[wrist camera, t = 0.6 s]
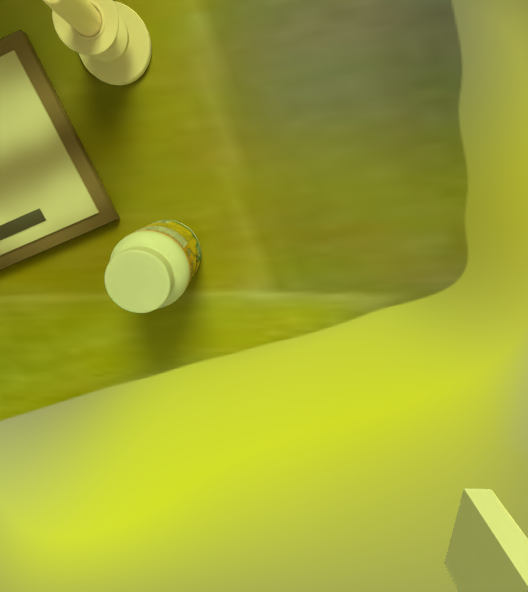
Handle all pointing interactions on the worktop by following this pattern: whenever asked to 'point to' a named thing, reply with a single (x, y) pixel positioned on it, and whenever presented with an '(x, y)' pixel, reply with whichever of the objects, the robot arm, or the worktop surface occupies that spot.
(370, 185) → the worktop surface
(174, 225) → the supplement bottle
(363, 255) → the worktop surface
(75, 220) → the writing board
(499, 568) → the robot arm
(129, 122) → the worktop surface
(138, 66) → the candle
